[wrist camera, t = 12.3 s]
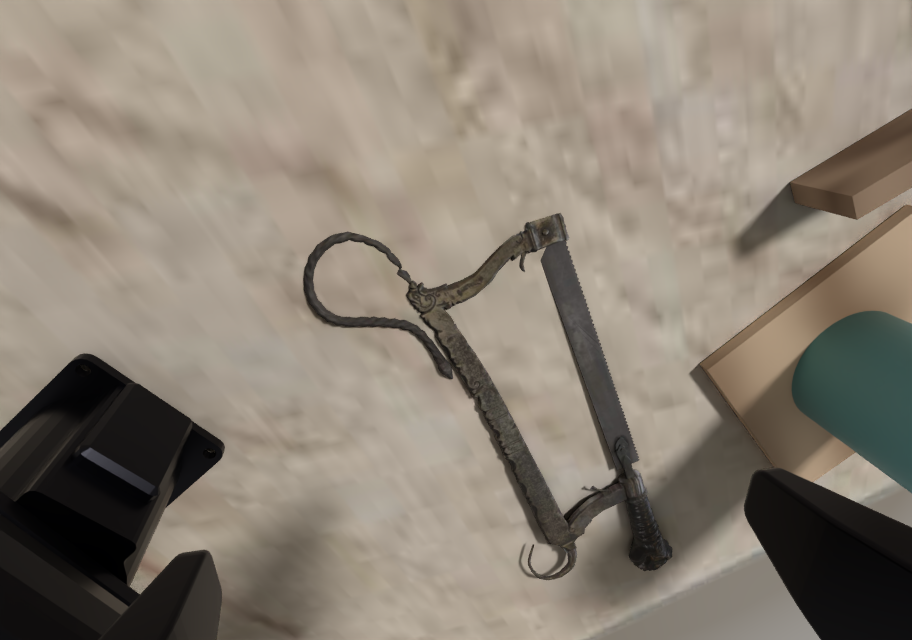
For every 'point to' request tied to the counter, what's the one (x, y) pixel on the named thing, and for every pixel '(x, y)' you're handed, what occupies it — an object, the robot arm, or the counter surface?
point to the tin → (862, 388)
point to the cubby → (861, 173)
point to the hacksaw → (576, 318)
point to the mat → (791, 332)
